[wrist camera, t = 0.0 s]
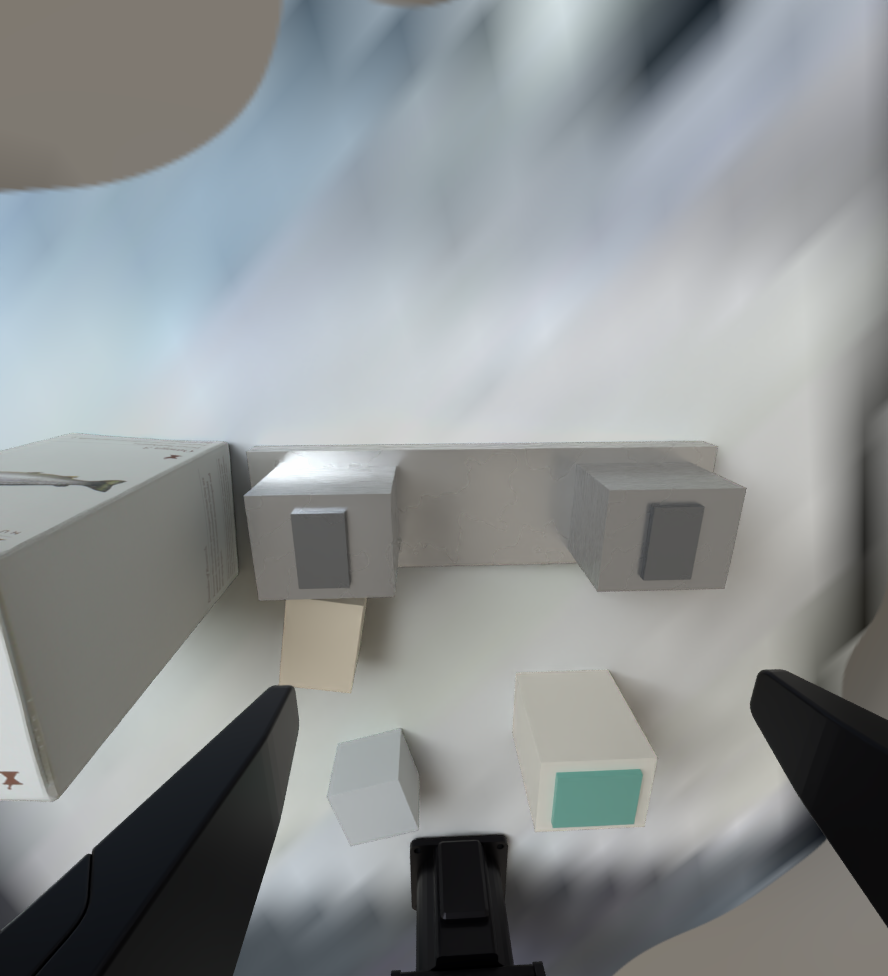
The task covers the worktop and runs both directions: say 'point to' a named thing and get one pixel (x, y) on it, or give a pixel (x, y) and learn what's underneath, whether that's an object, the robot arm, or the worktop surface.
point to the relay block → (375, 788)
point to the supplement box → (99, 588)
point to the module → (580, 752)
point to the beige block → (321, 643)
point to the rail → (488, 513)
